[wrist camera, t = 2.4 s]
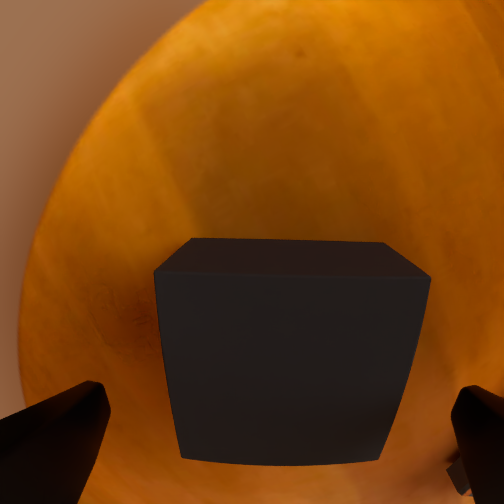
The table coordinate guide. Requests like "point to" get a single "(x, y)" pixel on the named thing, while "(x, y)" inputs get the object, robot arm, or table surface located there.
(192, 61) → the table surface
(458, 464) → the electronic device
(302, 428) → the dark grey square block
